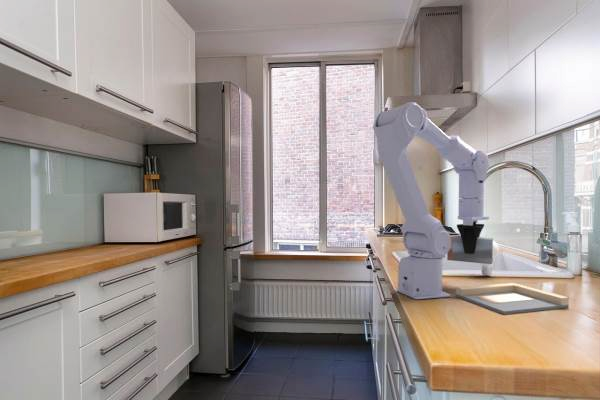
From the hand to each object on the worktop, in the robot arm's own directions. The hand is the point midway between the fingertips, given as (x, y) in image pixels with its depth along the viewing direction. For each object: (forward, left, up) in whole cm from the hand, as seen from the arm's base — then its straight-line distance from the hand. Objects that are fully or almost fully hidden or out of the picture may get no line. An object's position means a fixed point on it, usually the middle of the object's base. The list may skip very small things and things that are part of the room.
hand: (470, 252), depth 87 cm
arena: (-1, -12, -9) cm, 15 cm away
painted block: (0, 0, -2) cm, 2 cm away
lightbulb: (+15, +10, -9) cm, 20 cm away
